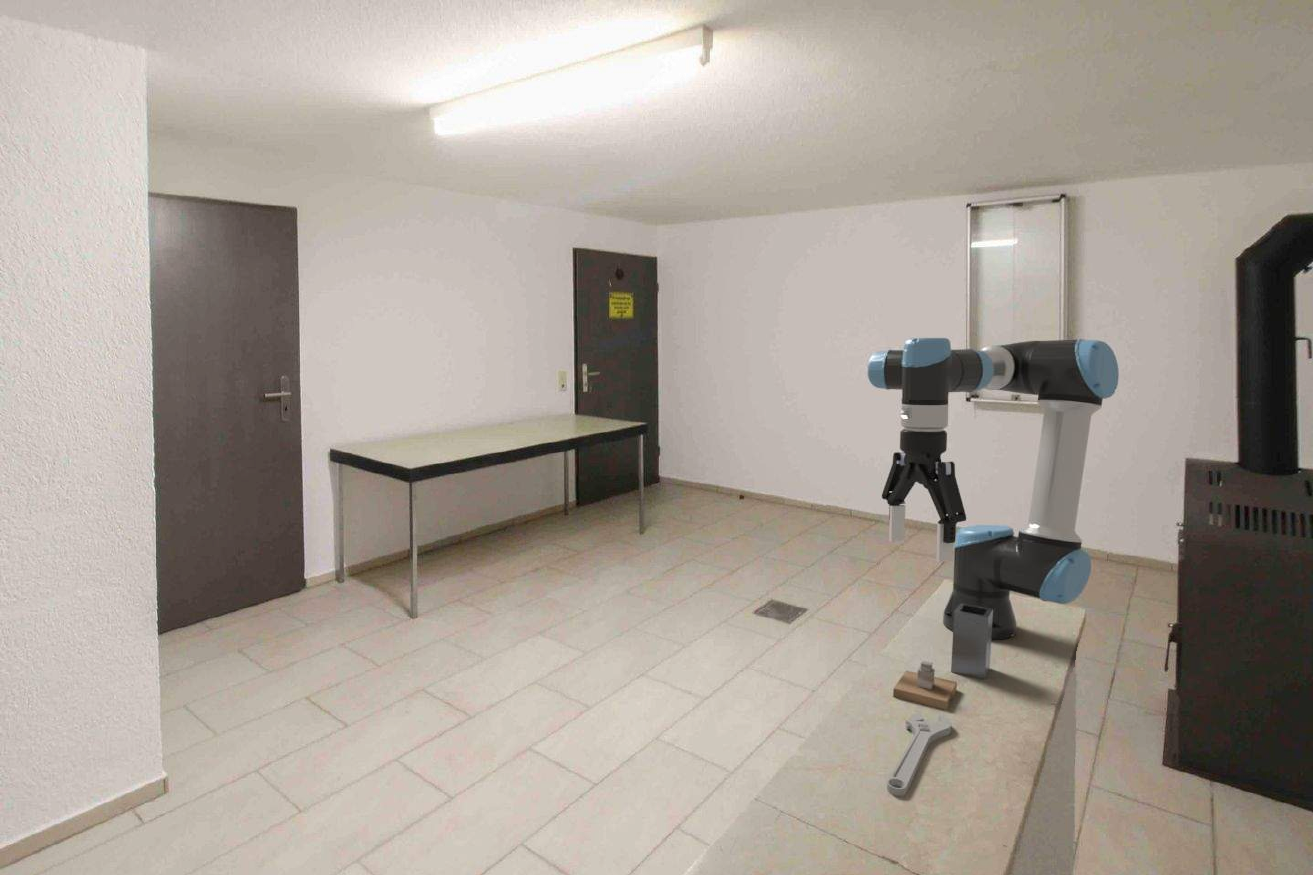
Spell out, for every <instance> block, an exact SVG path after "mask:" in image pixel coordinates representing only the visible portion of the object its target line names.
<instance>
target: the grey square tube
mask: <svg viewBox="0 0 1313 875" xmlns="http://www.w3.org/2000/svg"><path fill="white" fill-rule="evenodd" d="M992 619H993V609H992V608H986V607H980V606H974V605H969V604H963V603H960V604H959V605H958V607H957V608H956V610H955V611H954V624H953V631H952V643H951V644H952V645H951V647H952V648H951V649H952V650H951V662H950V663H951V665H950V666H951V667H950V672H951V673H955V674H960V675H964V676H968V677H972V678H976V679H983V680H986V678H987V675H988V673H989V671H990V670H991V669H990V666H991V653H992V651H991V650H992V639H991V637H992Z"/></svg>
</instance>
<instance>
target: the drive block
mask: <svg viewBox="0 0 1313 875" xmlns="http://www.w3.org/2000/svg"><path fill="white" fill-rule="evenodd" d="M935 669H936V668H934V667H933V661H929V660H924V659H922V661H921V663H920V666H919V668H918V669H917V672H915V671H912V670H905V671H904V673H903V674H902V675H901V677H900V678H899V680H898V681H897V683H896V684H895V685H894V687H893V693H892V697H894V698H897V699H901V700H905V701H909V702H914V703H917V704H921V705H925V706H929V707H933V708H938V709H941V710H945V711H946V710H947V709H948V707H949V705H950V703H951V702H952V699H953V698H954V696H955V694H956V692H957V685H958V682H957V681H953V680H950V679H946V678H945V679H944V678H941V677H937V676H935V671H936V670H935Z"/></svg>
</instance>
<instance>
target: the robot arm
mask: <svg viewBox="0 0 1313 875" xmlns="http://www.w3.org/2000/svg"><path fill="white" fill-rule="evenodd" d="M1118 365H1119V364H1118V361H1117V357H1116V355H1115V352H1114V350H1113V349H1112V347H1111V346H1110V345H1109V344H1108V343H1106V342H1105V341H1102V340H1099V339H1098V340H1095V339H1082V338H1078V339H1060V340H1059V339H1058V340H1057V339H1056V340H1054V339H1053V340H1028V341H1020V342H1019V341H1018V342H1014V343H1010V344H1001V345H999V344H998V345H989V346H985V347H984V348H982V349H979V350H978V349H974V348H965V349H962V348H961V349H960V348H959V349H952V348H951V340H950V339H949V338H947V337H912V338H908V339H906V340H905V342H904V344H903V349H887V350H879V351H876V352H874V353H873V354H872V355H871V356H870V358H869V360H868V363H867V373H866V374H867V378H868V380H869V382H870V384H871V385H872V387H875V388H877V389H884V390H887V391H889V390H901V391H902V392H901V411H900V415H901V417H900V425H901V426H902V427H903V428H904V429H901V431H900V432H899V434H900V435H899V449H900V451H901V452H900V451H899V452H894V453H893V456H892V464H891V466H890V470H889V473H888V476H887V479H886V481H885V484H884V487H883V491H882V493H881V499H883V500H886V501H887V504H888V506H889V507H888V508H889V510H888V511H889V513H888V520H889V524H888V525H889V528H888V541H889V542H891V543H893V542H904V541H905V532H906V531H905V530H906V529H905V528H906V505H905V504H906V501H905V499H906V498H907V496H908V495H909V493H910V492H911V490H912V488H913V487H914V486H915V484H916V483H917V484H920V485H922V486H923V487H924V488H925V489H927V491H928V494H929V495H930V498H931V500H932V503H933V505H934V507H935V509H936V512H937V515H938V516H939V520H938V521H937V525H936V527H937V530H936V552H935V553H936V554H935V556H936V557H935V562H937V563H946V562H953V581H952V582H953V584H952V591H951V594H950V596H949V597H948V598H949V599H948V601H947V603H946V606H945V608H944V611H943V614H942V618H943V619H942V623H943V625H944V627H945V628H947V629H948V630H950V631H952V632H953V624H954V611H955V610H956V608H957V607H958V605H959V604H960V603H963V604H969V605H974V606H980V607H986V608H992V609H993V619H992V637H991V640H1005V639H1009V638H1008V637H1010V638H1012V637H1013V636H1012V635H1014V634H1015V633H1017V626H1018V625H1017V624H1018V623H1017V620H1016V616H1015V612H1014V609H1013V605H1012V602H1011V599H1010V598H1011V597H1010V592H1013V593H1017V594H1020V595H1025V596H1027V597H1031V598H1036V599H1039V600H1041V601H1043V602H1050V603H1055V604H1060V605H1066V604H1070V603H1072V602H1074V601H1075V600H1076V599H1078V598H1079V596H1080V595H1081V594H1082V593H1083V591H1084V590H1085V588H1086V586H1087V584H1088V581H1089V579H1090V575H1091V571H1092V562H1091V557H1090V554H1089V553H1088V552H1087V551H1085V550H1084V549H1082V542H1083V540H1082V538H1081V537H1080V536H1079V535H1078V533H1076V524H1077V517H1078V511H1079V510H1078V509H1079V503H1080V496H1081V491H1082V490H1081V489H1082V483H1083V476H1084V471H1085V470H1084V468H1085V462H1086V456H1087V448H1088V444H1089V443H1088V440H1089V435H1090V434H1089V433H1090V430H1091V429H1090V428H1091V421H1092V416H1093V414H1095V413H1096V412H1098V411H1099V410H1100V409H1102V404H1103V399H1105V400H1106V399H1108V398H1111V397H1112V396H1114V394H1116V393H1115V392H1116V390H1117V389H1118V384H1119V378H1120V376H1119V366H1118ZM983 389H984V390H988V391H1003V392H1010V393H1017V394H1024V395H1035V396H1037V404H1038V405H1039V406H1040V407H1041V409H1043V416H1042V417H1043V418H1042V426H1041V431H1040V438H1039V445H1038V451H1037V453H1038V454H1037V459H1036V466H1035V474H1034V479H1033V480H1034V481H1033V487H1032V488H1033V489H1032V495H1031V501H1030V508H1029V514H1028V522H1027V524H1025V525H1024V526H1023V527H1021V528H1019V530H1018V536H1014V535H1015V531H1014V529H1013V528H1012V527H1010V526H1007V525H1000V524H999V525H998V524H997V525H996V524H982V525H969V526H964V527H961V528H959V529H958V530H956V529H957V524H958V523H960V522H961V523H962V522H966V521H967V515H966V511H965V507H964V504H963V499H962V496H961V491H960V489H959V485H958V481H957V478H956V464H955V462H953V461H942V457H941V456H942V455H943V453H945V452H947V449H948V448H947V446H948V444H947V443H948V432H947V431H946V430H944V429H947V427H948V426H949V395H950V394H949V393H963V392H964V393H973V392H975V391H980V390H983ZM1015 635H1016V634H1015ZM1015 635H1014V636H1015ZM1011 636H1012V637H1011Z"/></svg>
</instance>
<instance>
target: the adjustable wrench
mask: <svg viewBox="0 0 1313 875" xmlns="http://www.w3.org/2000/svg"><path fill="white" fill-rule="evenodd" d="M924 719H925V718H924V716H923V713H922V712H919V711H917V712H915V713H913V714H911V715H910V716H909V718H908V719H905V729H906V730H909V731H910V732H911V733H912V735H913V737H912V738H911V740H910V742H909V744H908V745H907V747H906V749H905V750H904V752H903V753H902V755H901V757H900V759H899V761H898V762H897V763H896V765H895V767H894V769H893V770H892V772H891V773H890V775H889V777H888V779H887V780H886V791H887V792H888V793H889V794H891V795H893V796H896V797H897V796H898V797H902V796H905V795H906V794H907V792H908V790H909V788H910V786H911V783H912V782H913V779H914V777H915V775H916V773H917V771H918V769H919V766H920V765H921V763H922V760H923V758H924V756H925V754H926V752H927V750H928V747H929V746H930V744H931V743H933V742H934V741H936V740H939V739H940V738H944V737H945V736H949V735H950V734H951V733H952V721H951V720H950V718H948V717H947V716H945V715H944V714H941V713H939V714H938V721H924Z"/></svg>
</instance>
